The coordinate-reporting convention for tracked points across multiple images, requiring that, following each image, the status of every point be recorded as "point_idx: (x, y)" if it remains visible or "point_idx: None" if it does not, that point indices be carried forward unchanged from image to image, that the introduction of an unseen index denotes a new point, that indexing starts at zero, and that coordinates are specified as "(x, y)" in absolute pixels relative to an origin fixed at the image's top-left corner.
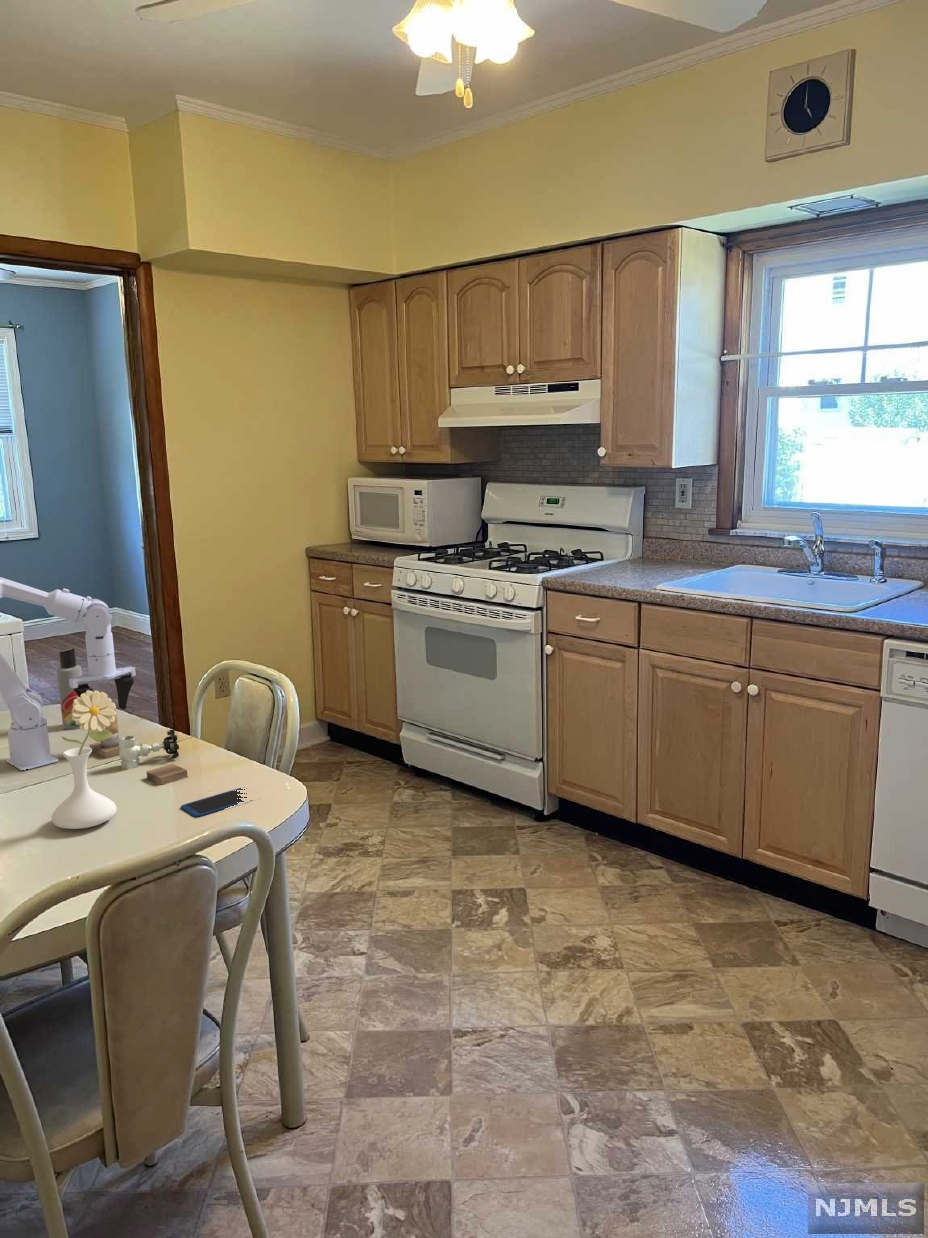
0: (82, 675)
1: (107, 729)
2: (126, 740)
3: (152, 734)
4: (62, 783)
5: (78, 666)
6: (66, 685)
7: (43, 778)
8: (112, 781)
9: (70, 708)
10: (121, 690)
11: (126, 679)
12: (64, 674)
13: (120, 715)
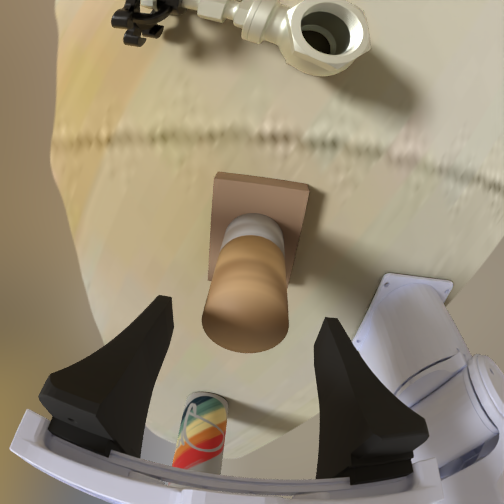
0: None
1: (273, 254)
2: (356, 7)
3: (107, 256)
4: (482, 128)
5: None
6: None
7: (473, 203)
8: (417, 6)
9: (215, 432)
10: (137, 381)
11: (81, 419)
12: None
13: None
